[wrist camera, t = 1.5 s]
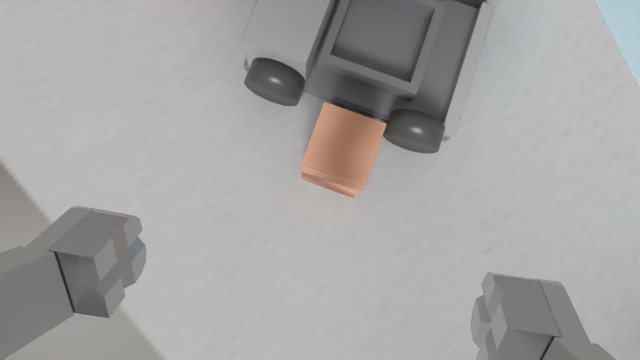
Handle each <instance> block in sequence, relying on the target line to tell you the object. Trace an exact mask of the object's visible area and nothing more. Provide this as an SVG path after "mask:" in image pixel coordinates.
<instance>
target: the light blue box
mask: <svg viewBox="0 0 640 360" xmlns="http://www.w3.org/2000/svg"><path fill="white" fill-rule="evenodd" d="M595 1H596V3H597V5H598V7H599V9H600V11H601V13H602V15H603V17H604V19H605V21H606V23H607V25H608V27H609V29H610V31H611V32H612V34H613V36H614V38H615V40H616V42H617V44H618V46H619V48H620V50H621V52H622V54H623V56H624V58H625V60H626V61H627V63H628V65H629V67H630V69H631V71H632V73H633V75H634V77H635V79H636V81H637V83H638V85H639V87H640V0H595Z"/></svg>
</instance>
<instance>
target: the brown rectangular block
mask: <svg viewBox="0 0 640 360" xmlns="http://www.w3.org/2000/svg"><path fill="white" fill-rule="evenodd" d="M385 127H386V123H383V122H381V121H378V120H375V119H372V118H369V117H366V116H364V115H361V114H358V113H355V112H352V111H349V110H347V109H344V108H341V107H338V106H335V105H332V104H330V103H327V102H324V103H323V106H322V109H321V111H320V114H319V117H318V120H317V122H316V125H315V128H314V131H313V133H312V136H311V139H310V141H309V144H308V147H307V150H306V152H305V155H304V158H303V160H302V180H305V181H307V182H310V183H313V184H316V185H319V186H321V187H324V188H327V189H330V190H333V191H335V192H338V193H341V194H344V195H347V196H349V197H352V198H353V197H354V196H355V195H356V194H357V193H358V192H359V191H361V190H362V189H363V188H364V187H365V186H366V183H367V180H368V177H369V174H370V171H371V169H372V166H373V163H374V160H375V157H376V154H377V151H378V148H379V145H380V142H381V139H382V136H383V133H384V130H385Z"/></svg>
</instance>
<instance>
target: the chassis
mask: <svg viewBox="0 0 640 360" xmlns="http://www.w3.org/2000/svg"><path fill="white" fill-rule="evenodd" d="M485 1H486V0H258V1H257V3H256V6H255V8H254V11H253V13H252V16H251V18H250V20H249V23H248V25H247V28H246V30H245V33H244V35H243V37H242V40H241V41H242V45H243V48H244V51H245V55H246V60H245V62H244V67H245V70H246V71H248V74H247V76H246V79H245V82H244V83H245V85H246V86H247V88H248V89H250V90H251V91H252V92H254V93H255V94H257V95H258V96H260V97H262V98H264V99H266V100H269V101H271V102H274V103H277V104H281V105H286V106H295V105H297V104H298V101H299V99H300V96H301V93H302V91H304V92H307V93H310V94H313V95H316V96H318V97H321V98H324V99H327V100H330V101H333V102H335V103H338V104H341V105H344V106H347V107H350V108H352V109H355V110H358V111H361V112H364V113H367V114H369V115H372V116H375V117H378V118H381V119H384V120H386V121H387V124H386V127H385V130H384V133H383V136H384V137H385V138H386V139H387V140H388V141H389V142H391V143H393V144H395V145H397V146H399V147H401V148H404V149H407V150H410V151H415V152H420V153H435V152H437V151H438V150H439V147H440V144H441V140H443V141H446V140H448V139H449V138H450V137H452V136H453V135H455V133H456V130H457V127H458V124H459V120H460V117H461V114H462V111H463V107H464V104H465V101H466V98H467V95H468V91H469V88H470V85H471V82H472V78H473V75H474V72H475V69H476V66H477V62H478V59H479V56H480V53H481V50H482V46H483V43H484V40H485V37H486V33H487V30H488V27H489V24H490V21H491V17H492V14H493V11H494V8H495V6H494V5H491V4H488V3H485Z"/></svg>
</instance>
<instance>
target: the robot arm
mask: <svg viewBox="0 0 640 360" xmlns="http://www.w3.org/2000/svg"><path fill="white" fill-rule="evenodd" d="M141 231H142V226H141V222H140V219H139V218H138V217H136V216H133V215H127V214H122V213H116V212H111V211H105V210H100V209H92V208H87V207H81V206H75V207H71V208H70V209H69V210H68V211H66V212H65V213H64V214H63V215H62V216H61V217H60V218H58V219H57V220H56V221H55V222H54V223H53V224H52V225H50V226H49V227H48V228H47V229H46V230H45V231H44V232H42V233H41V234H40V235H39V236H38V237H37V238H36V239H34V241H32V242H31V243H30V244H29V245H28V246H26V247H20V246H19V247H16V248H14V249H11V250H8V251H5V252H2V253H0V360H3V359H5V358H6V357H8V356H9V355H11V354H12V353H14V352H16V351H17V350H19V349H20V348H22V347H24V346H25V345H27V344H28V343H30V342H32V341H33V340H35V339H36V338H38V337H39V336H41V335H43V334H44V333H46V332H47V331H49V330H51V329H52V328H54V327H55V326H57V325H59V324H60V323H62V322H63V321H65V320H66V319H68V318H69V317H71V316H73V315H74V313H79V314H85V315H92V316H98V317H105V318H110V317H111V315H112V314H113V313H114V311H115V310H116V308H117V307H118V306H119V304H120V303H121V302H122V300H123V299H124V298H125V291H124V288H126V287H128V286H130V285H132V284H133V283H135V282H136V281H137V279H138V278H139V276H140V275H141V273H142V271H143V268H144V265H145V262H146V248H145V244H144V243H143V242H142V241H141V240H140V239H139V237H138V235H139V234H140V233H141ZM482 289H483V294H484V295H482V296H480V297H479V298H477V299H476V301H475V304H474V307H473V311H472V319H471V331H472V338H473V341H474V343H475V344H476V345H477V346H478V347H479V348H480V350H479V353H478V355H477V358H476V360H616V359H615V358H613V357H612V356H611V355H610V354H609V353H608V352H606V351H605V350H604V349H603V348H602V347H601V346H599V345H598V344H593V343H590V341H589V339H588V337H587V335H586V333H585V330H584V328H583V326H582V324H581V322H580V320H579V318H578V315H577V313H576V311H575V309H574V307H573V305H572V303H571V300H570V298H569V296H568V294H567V292H566V290H565V288H564V286H563V285H562V284H561V283H560V282H556V281H548V280H541V279H531V278H524V277H518V276H511V275H504V274H498V273H491V272H488V273H487V274H486V276H485V277H484V280H483V283H482Z"/></svg>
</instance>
